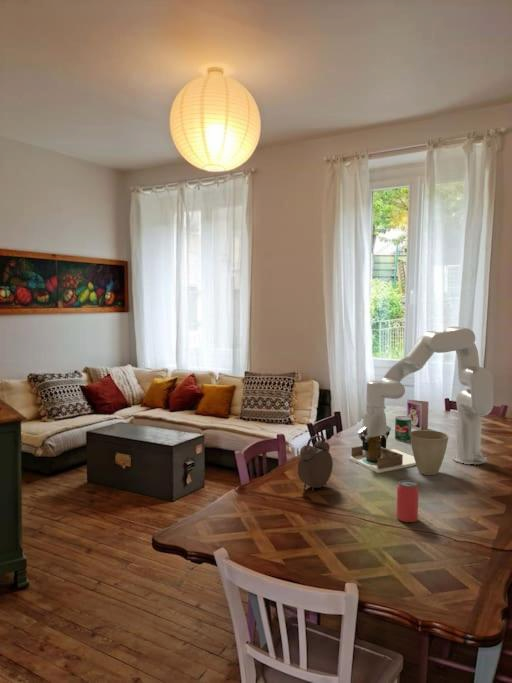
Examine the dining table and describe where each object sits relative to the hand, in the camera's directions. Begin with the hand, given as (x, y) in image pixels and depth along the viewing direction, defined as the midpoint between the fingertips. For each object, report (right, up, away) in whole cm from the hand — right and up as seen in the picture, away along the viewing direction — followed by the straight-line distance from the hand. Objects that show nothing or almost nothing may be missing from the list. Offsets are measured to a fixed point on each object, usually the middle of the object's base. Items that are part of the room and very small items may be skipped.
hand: (374, 448), depth 217 cm
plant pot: (+20, -8, -9) cm, 23 cm away
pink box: (+38, -2, +60) cm, 71 cm away
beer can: (-2, -12, -53) cm, 54 cm away
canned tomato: (+23, -3, +38) cm, 45 cm away
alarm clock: (-29, -9, -26) cm, 40 cm away
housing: (+1, -5, +1) cm, 5 cm away
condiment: (0, -5, 0) cm, 5 cm away
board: (+6, -6, +4) cm, 10 cm away
